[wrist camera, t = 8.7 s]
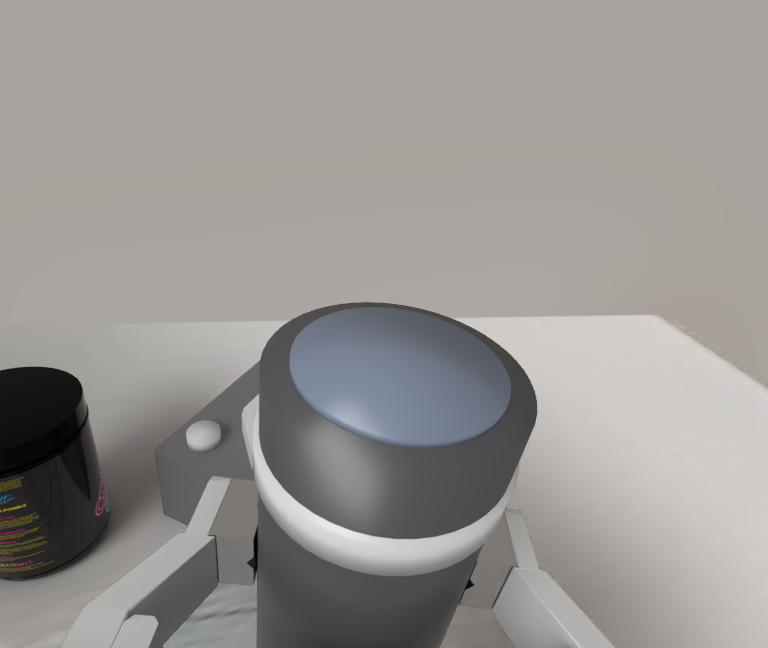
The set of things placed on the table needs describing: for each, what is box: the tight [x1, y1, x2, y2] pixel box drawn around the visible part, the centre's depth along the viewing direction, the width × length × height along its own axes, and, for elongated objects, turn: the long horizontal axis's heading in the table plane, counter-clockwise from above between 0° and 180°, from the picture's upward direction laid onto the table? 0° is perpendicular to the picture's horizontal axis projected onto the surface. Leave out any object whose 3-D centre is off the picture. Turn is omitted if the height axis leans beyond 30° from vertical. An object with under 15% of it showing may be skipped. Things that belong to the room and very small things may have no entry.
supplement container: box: [0, 367, 110, 581], centre depth 25 cm, size 7×7×10 cm
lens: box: [253, 302, 537, 648], centre depth 11 cm, size 5×5×13 cm
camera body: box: [154, 361, 260, 526], centre depth 31 cm, size 16×12×8 cm
